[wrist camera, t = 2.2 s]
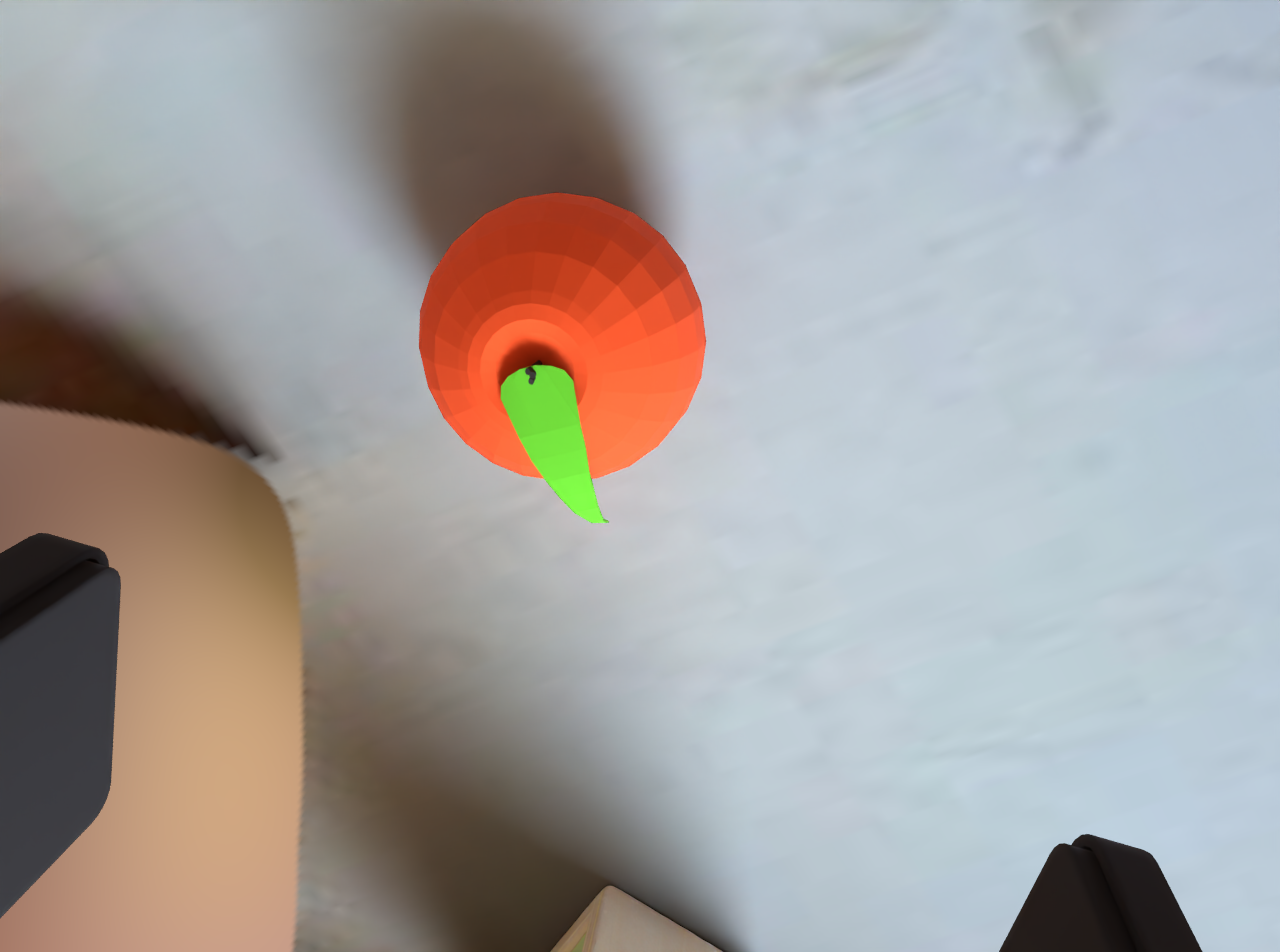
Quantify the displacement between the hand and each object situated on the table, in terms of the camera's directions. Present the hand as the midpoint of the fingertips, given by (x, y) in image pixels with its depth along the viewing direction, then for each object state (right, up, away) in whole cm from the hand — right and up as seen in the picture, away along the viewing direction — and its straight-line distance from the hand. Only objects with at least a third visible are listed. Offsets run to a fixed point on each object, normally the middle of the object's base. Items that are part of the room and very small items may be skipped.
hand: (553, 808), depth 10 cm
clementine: (0, +7, +18) cm, 19 cm away
